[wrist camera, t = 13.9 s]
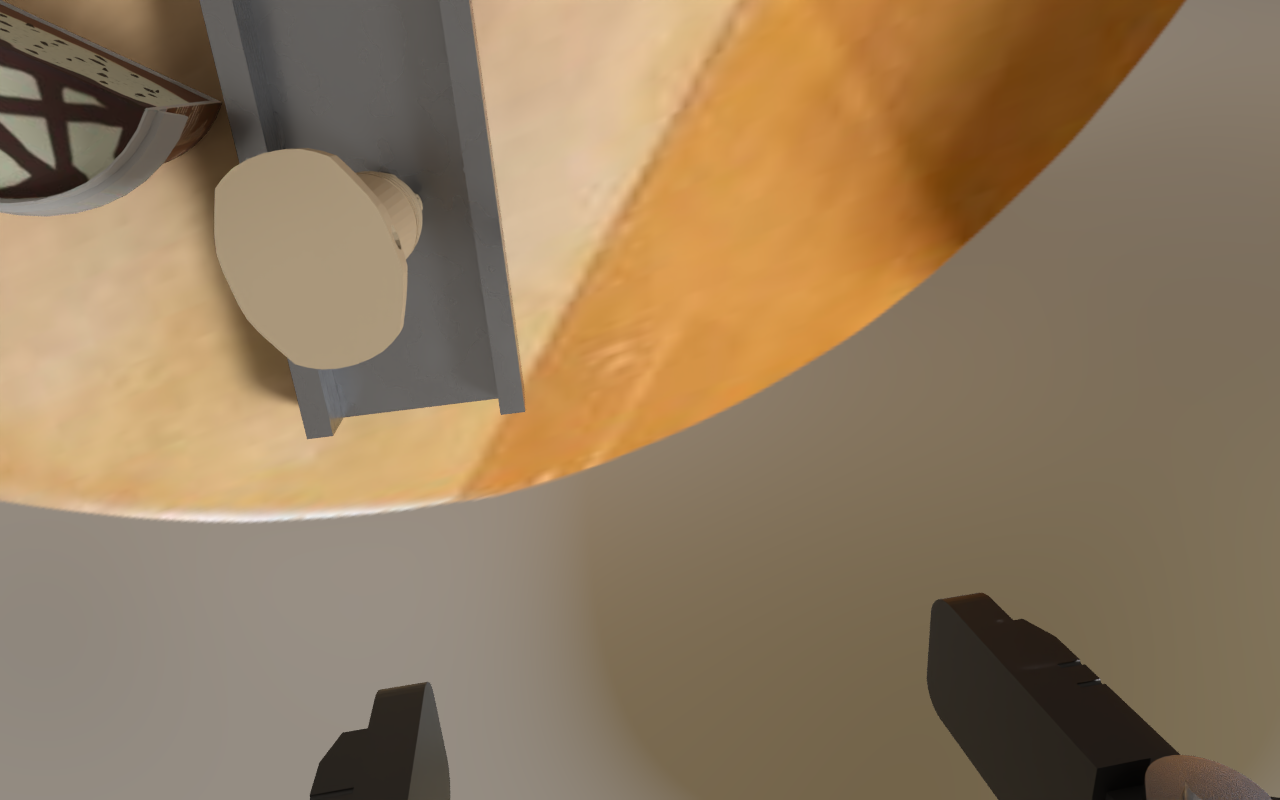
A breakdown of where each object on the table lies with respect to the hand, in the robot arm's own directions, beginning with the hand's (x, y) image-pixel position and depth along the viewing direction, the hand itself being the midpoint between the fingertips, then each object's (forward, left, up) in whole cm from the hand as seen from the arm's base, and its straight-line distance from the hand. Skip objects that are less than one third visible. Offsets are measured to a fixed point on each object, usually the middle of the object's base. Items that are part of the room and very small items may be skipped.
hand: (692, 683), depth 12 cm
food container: (-10, -20, -30) cm, 38 cm away
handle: (-5, -8, -29) cm, 31 cm away
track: (-5, -8, -30) cm, 32 cm away
